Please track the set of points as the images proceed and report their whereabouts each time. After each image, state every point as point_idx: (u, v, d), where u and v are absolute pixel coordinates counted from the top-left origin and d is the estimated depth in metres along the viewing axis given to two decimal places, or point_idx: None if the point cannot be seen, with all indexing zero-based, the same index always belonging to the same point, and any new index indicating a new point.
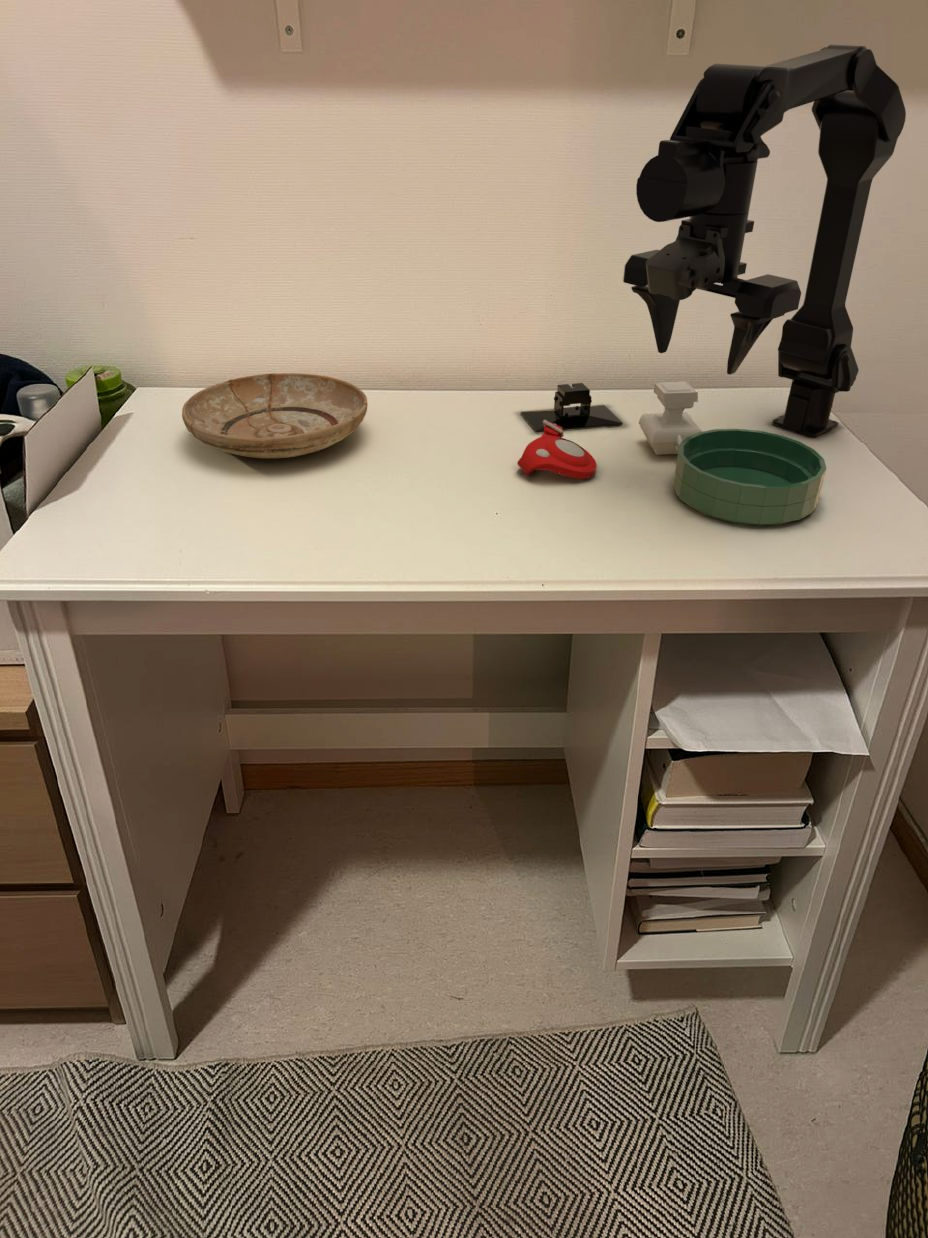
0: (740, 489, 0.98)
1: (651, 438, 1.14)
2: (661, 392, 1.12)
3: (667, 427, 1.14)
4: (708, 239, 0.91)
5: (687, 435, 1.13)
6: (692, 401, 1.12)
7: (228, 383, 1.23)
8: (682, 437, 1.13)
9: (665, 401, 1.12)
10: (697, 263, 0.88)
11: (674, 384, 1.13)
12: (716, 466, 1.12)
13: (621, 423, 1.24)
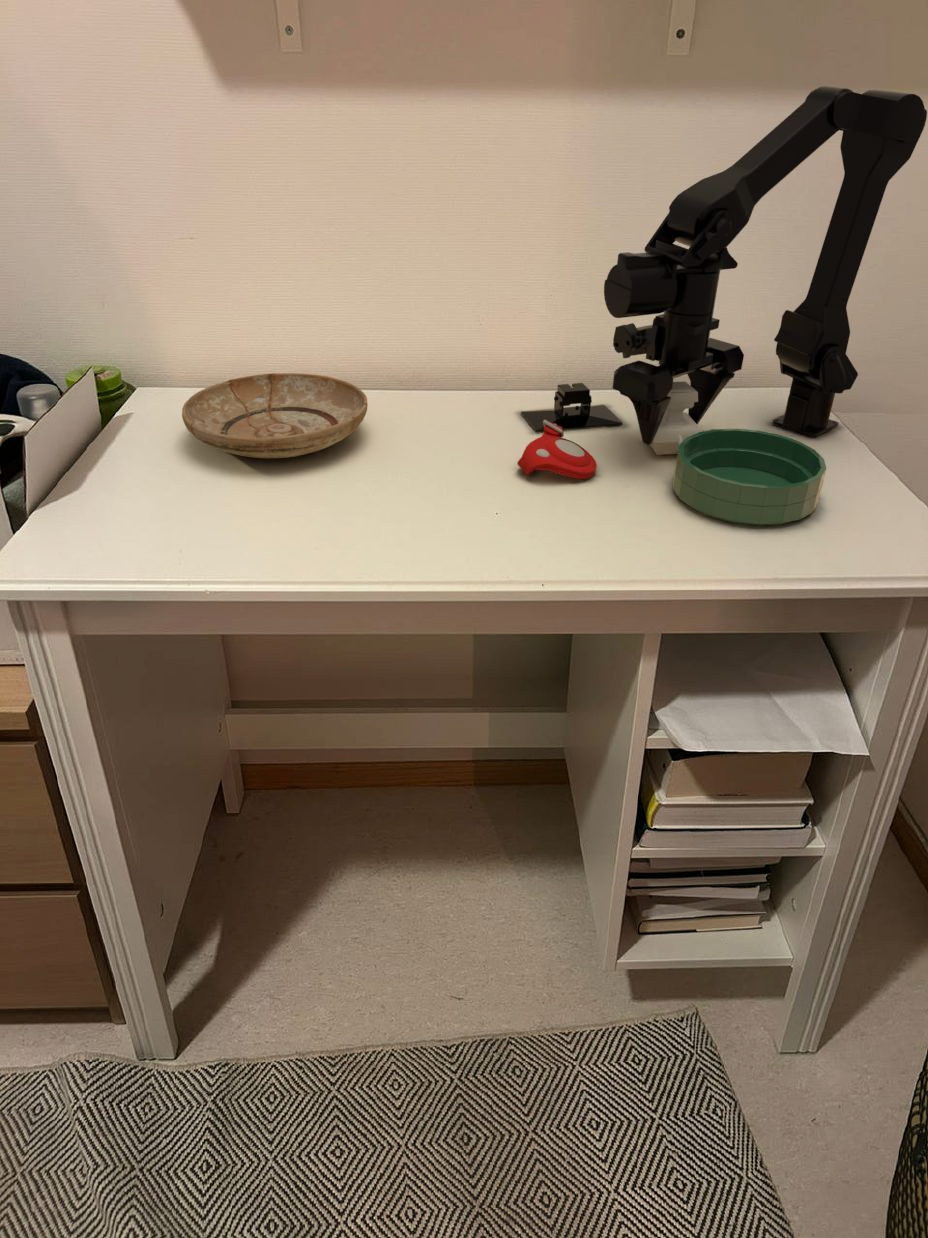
0: (740, 489, 0.98)
1: None
2: None
3: (667, 427, 1.14)
4: None
5: (687, 435, 1.13)
6: (692, 401, 1.12)
7: (228, 383, 1.23)
8: (682, 437, 1.13)
9: None
10: None
11: (674, 384, 1.13)
12: (716, 466, 1.12)
13: (621, 423, 1.24)
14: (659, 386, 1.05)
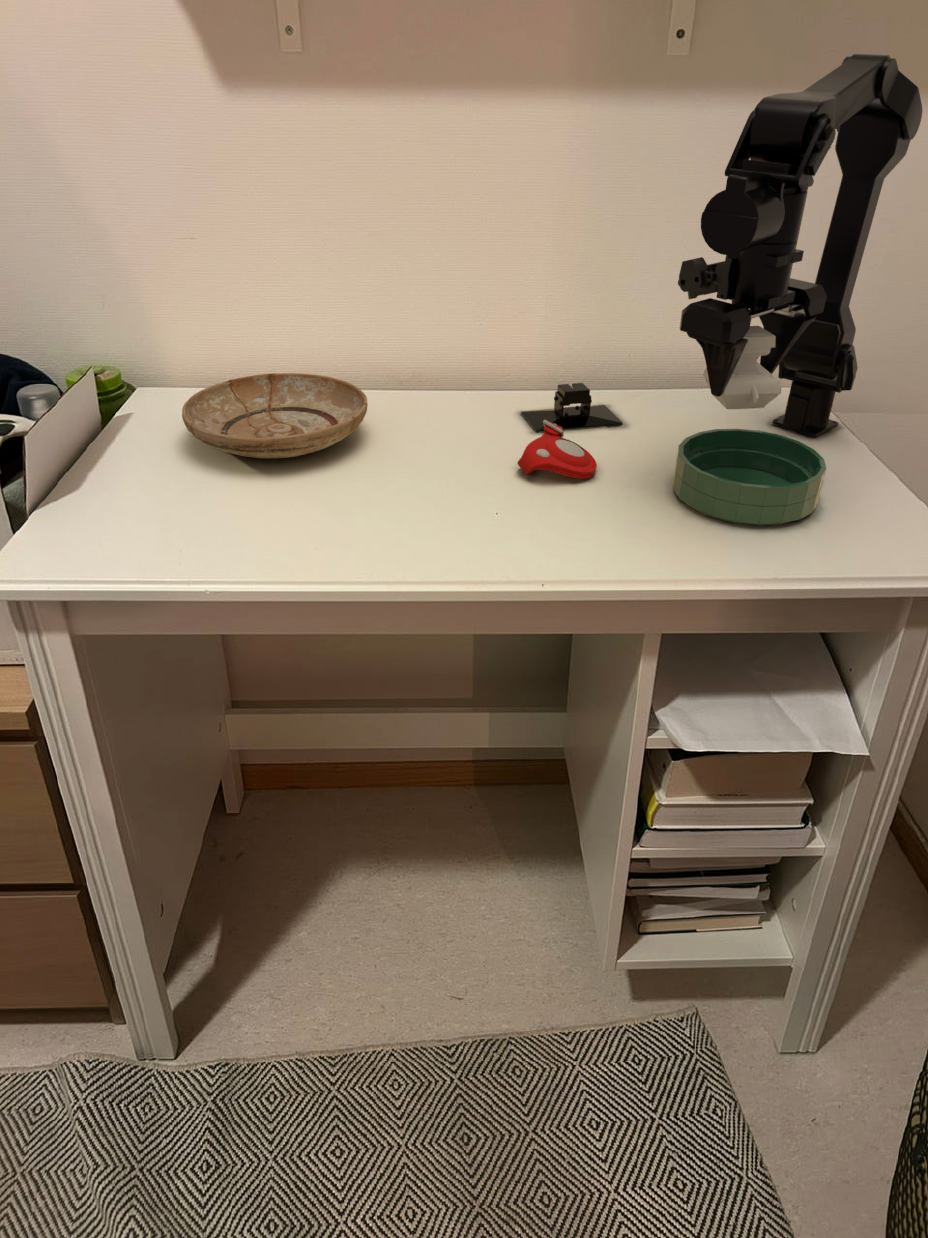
0: (740, 489, 0.98)
1: None
2: None
3: (739, 377, 1.00)
4: None
5: (763, 386, 1.00)
6: (769, 347, 0.99)
7: (228, 383, 1.23)
8: (757, 388, 1.00)
9: None
10: None
11: None
12: (716, 466, 1.12)
13: (621, 423, 1.24)
14: (736, 325, 0.91)
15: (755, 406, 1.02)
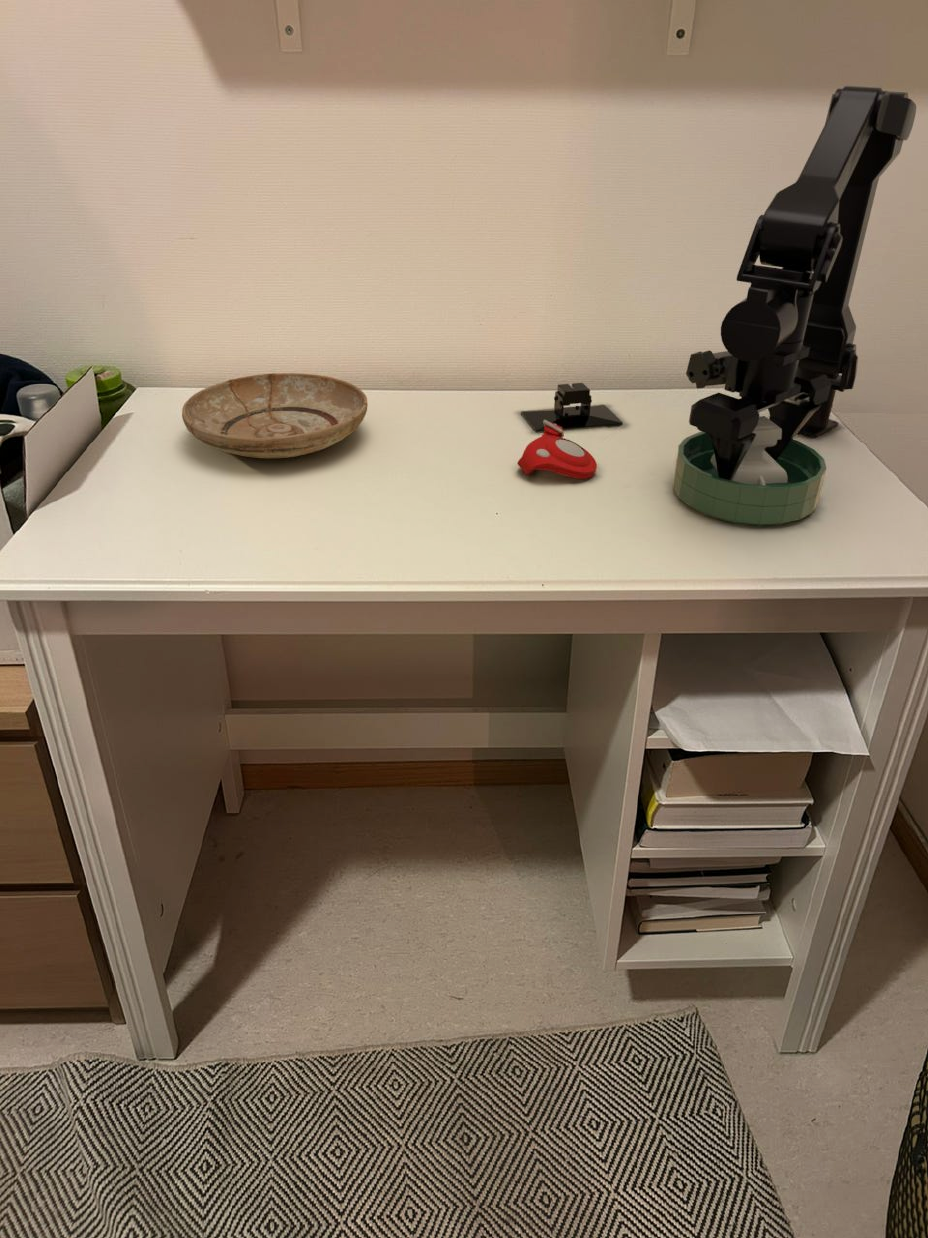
0: (740, 489, 0.98)
1: None
2: None
3: (747, 467, 1.03)
4: None
5: (769, 476, 1.02)
6: (775, 439, 1.01)
7: (228, 383, 1.23)
8: (764, 478, 1.02)
9: None
10: None
11: None
12: None
13: (621, 423, 1.24)
14: (745, 423, 0.94)
15: None
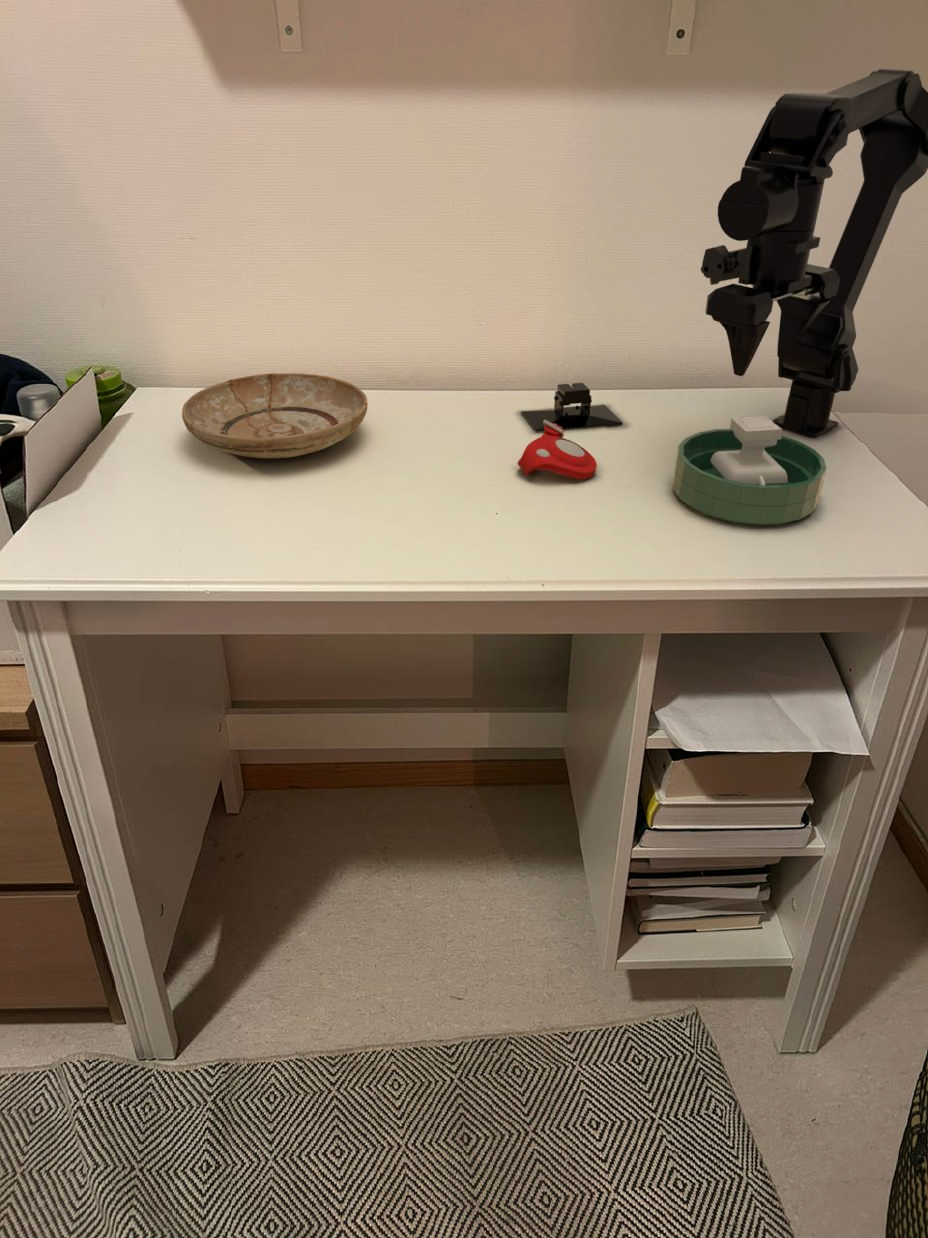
0: (740, 489, 0.98)
1: None
2: (741, 430, 1.01)
3: (747, 467, 1.03)
4: None
5: (769, 476, 1.02)
6: (775, 439, 1.01)
7: (228, 383, 1.23)
8: (764, 478, 1.02)
9: (746, 439, 1.01)
10: None
11: (754, 420, 1.02)
12: None
13: (621, 423, 1.24)
14: (760, 308, 0.98)
15: None
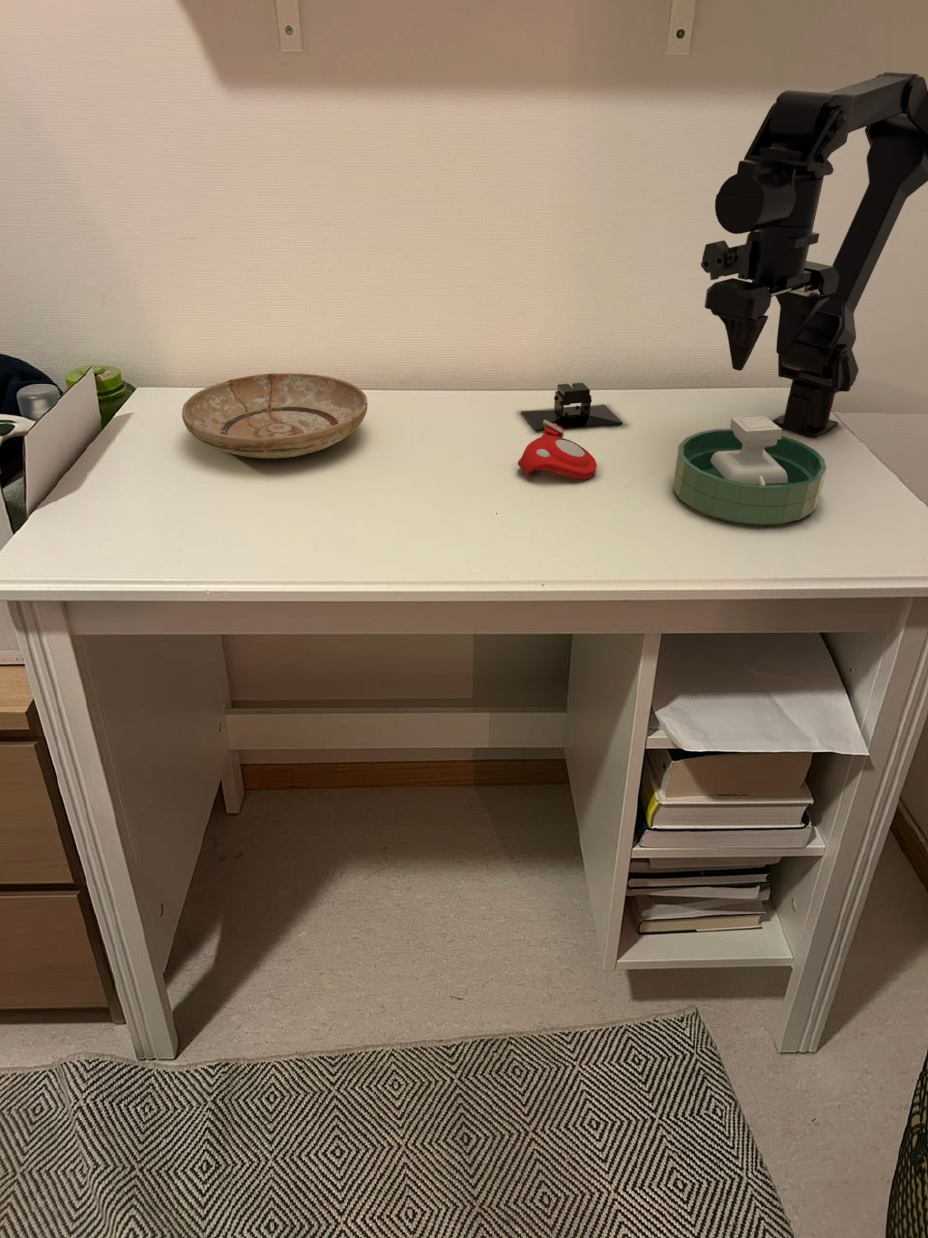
0: (740, 489, 0.98)
1: None
2: (741, 430, 1.01)
3: (747, 467, 1.03)
4: None
5: (769, 476, 1.02)
6: (775, 439, 1.01)
7: (228, 383, 1.23)
8: (764, 478, 1.02)
9: (746, 439, 1.01)
10: None
11: (754, 420, 1.02)
12: None
13: (621, 423, 1.24)
14: (758, 302, 0.99)
15: None
